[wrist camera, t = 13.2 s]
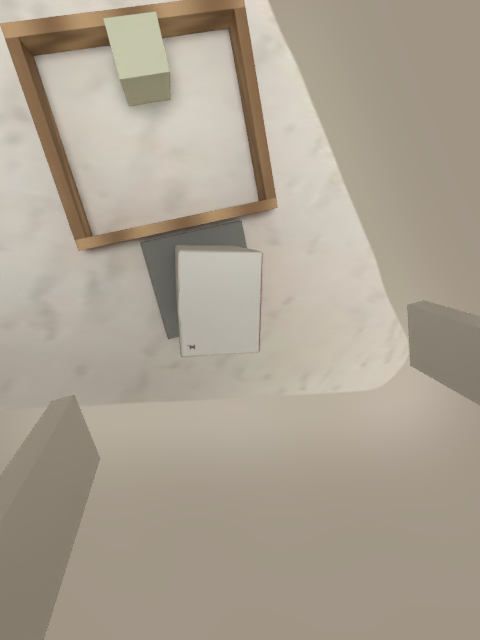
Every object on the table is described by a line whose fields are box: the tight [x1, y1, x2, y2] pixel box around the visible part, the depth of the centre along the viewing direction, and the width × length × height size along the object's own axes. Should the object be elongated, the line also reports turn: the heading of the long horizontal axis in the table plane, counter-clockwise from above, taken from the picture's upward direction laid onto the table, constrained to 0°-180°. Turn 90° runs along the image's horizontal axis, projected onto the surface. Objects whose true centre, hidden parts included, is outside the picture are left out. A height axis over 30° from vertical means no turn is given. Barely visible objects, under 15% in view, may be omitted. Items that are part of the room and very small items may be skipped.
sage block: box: [103, 12, 170, 106], centre depth 29 cm, size 4×4×6 cm
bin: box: [0, 0, 278, 251], centre depth 31 cm, size 20×18×3 cm
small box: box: [175, 245, 263, 357], centre depth 31 cm, size 8×6×13 cm
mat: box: [140, 221, 247, 339], centre depth 37 cm, size 11×11×1 cm
